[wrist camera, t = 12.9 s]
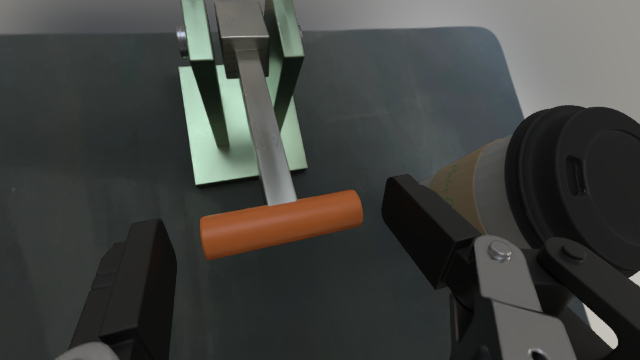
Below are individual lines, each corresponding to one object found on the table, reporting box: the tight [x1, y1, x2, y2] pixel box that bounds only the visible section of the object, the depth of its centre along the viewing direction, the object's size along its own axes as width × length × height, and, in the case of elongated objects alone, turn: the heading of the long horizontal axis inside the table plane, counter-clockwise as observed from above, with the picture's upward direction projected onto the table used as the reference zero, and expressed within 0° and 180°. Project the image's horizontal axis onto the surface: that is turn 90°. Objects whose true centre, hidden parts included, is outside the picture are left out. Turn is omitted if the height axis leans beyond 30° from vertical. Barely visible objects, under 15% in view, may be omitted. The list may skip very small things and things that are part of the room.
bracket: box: [175, 0, 308, 188], centre depth 19 cm, size 10×9×13 cm
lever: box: [200, 1, 363, 260], centre depth 13 cm, size 12×6×2 cm, turn 12°
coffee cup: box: [419, 105, 640, 278], centre depth 21 cm, size 9×9×15 cm
